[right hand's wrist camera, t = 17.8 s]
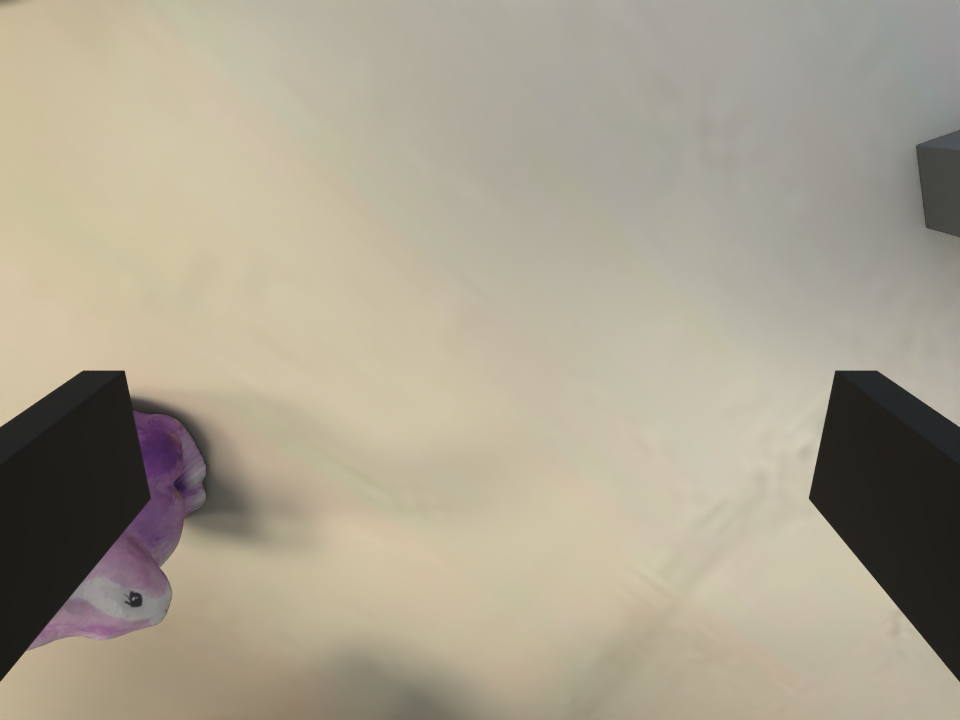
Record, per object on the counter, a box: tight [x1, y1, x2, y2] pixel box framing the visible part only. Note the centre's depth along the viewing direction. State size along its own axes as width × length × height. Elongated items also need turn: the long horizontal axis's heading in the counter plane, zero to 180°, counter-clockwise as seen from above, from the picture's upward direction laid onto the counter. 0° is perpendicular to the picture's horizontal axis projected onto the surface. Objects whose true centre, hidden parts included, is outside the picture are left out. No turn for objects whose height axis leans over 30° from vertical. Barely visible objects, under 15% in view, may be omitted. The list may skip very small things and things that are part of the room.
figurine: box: [26, 410, 206, 651], centre depth 38 cm, size 9×10×15 cm
